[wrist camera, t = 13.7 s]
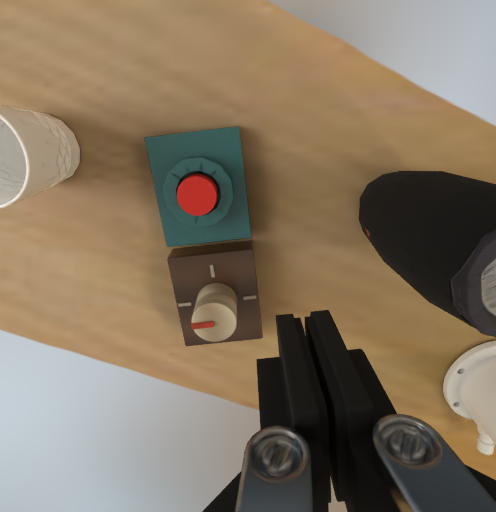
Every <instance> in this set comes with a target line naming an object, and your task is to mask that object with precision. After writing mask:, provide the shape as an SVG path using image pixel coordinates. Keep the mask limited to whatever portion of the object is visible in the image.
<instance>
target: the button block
mask: <svg viewBox="0 0 496 512" xmlns="http://www.w3.org/2000/svg"><path fill="white" fill-rule="evenodd" d="M144 139H145V144H146V149H147V154H148V158H149V163H150V168H151V173H152V178H153V182H154V187H155V192H156V197H157V202H158V206H159V211H160V216H161V221H162V226H163V230H164V235H165V240H166V245H167V247H171V246H180V245H189V244H198V243H207V242H216V241H225V240H234V239H243V238H251V227H250V218H249V209H248V200H247V191H246V182H245V174H244V165H243V156H242V147H241V138H240V129H239V126H237V127H228V128H220V129H211V130H203V131H195V132H186V133H178V134H170V135H161V136H153V137H145V138H144ZM193 174H203V175H206V176H208V177H209V178H211V179H212V180H213V181H214V183H215V185H216V187H217V190H218V197H217V200H216V203H215V206H214V207H213V209H212V210H211V211H210V212H208V213H207V214H204V215H200V216H195V215H191V214H189V213H187V212H185V211H184V210H183V209H182V208H181V206H180V205H179V203H178V200H177V190H178V187H179V185H180V184H181V183H182V182H183V181H184V180H185V179H186V178H187V177H188V176H190V175H193Z"/></svg>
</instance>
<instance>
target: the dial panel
mask: <svg viewBox="0 0 496 512" xmlns="http://www.w3.org/2000/svg"><path fill="white" fill-rule="evenodd" d="M167 260H168V264H169V269H170V274H171V279H172V283H173V288H174V293H175V298H176V302H177V307H178V312H179V317H180V321H181V326H182V331H183V336H184V340H185V345H186V346H192V345H202V344H212V343H221V342H231V341H241V340H251V339H260V338H263V335H262V325H261V316H260V307H259V298H258V289H257V280H256V271H255V262H254V254H253V245H252V241H243V242H234V243H225V244H216V245H207V246H198V247H189V248H179V249H173V250H172V252H171V253H170V255H169V257H168V259H167ZM212 283H222V284H225V285H227V286H229V287H230V288H231V289H232V290H233V291H234V292H235V294H236V296H237V325H236V329H235V331H234V332H233V334H232V335H231V336H230V337H228V338H227V339H225V340H222V341H218V342H211V341H207V340H204V339H202V338H201V337H199V336H198V335H197V334H196V333H195V331H194V330H192V326H191V324H192V316H193V312H194V308H195V304H196V300H197V297H198V294H199V292H200V291H201V289H202V288H204V287H205V286H206V285H209V284H212Z"/></svg>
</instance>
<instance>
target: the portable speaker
mask: <svg viewBox="0 0 496 512" xmlns="http://www.w3.org/2000/svg"><path fill="white" fill-rule="evenodd" d="M359 221H360V224H361V227H362V230H363V232H364V233H365V235H366V236H367V238H368V239H369V241H370V242H371V243H372V245H373V246H374V248H375V249H376V251H377V252H378V254H379V255H380V256H381V258H382V259H383V261H384V262H385V263H386V264H387V265H389V266H390V267H391V268H392V269H393V270H394V271H395V272H396V273H397V274H399V275H400V276H401V277H402V278H403V279H404V280H405V281H406V282H407V283H408V284H410V285H411V286H412V287H413V288H414V289H415V290H416V291H417V292H418V293H420V294H421V295H422V296H423V297H424V298H425V299H426V300H427V301H429V302H430V303H432V304H434V305H435V306H437V307H439V308H441V309H442V310H444V311H446V312H448V313H449V314H451V315H453V316H455V317H456V318H458V319H460V320H462V321H463V322H465V323H467V324H468V325H470V326H472V327H474V328H476V329H477V330H478V331H479V332H480V333H482V334H485V335H489V336H494V337H496V184H492V183H488V182H484V181H480V180H475V179H471V178H467V177H463V176H459V175H455V174H451V173H446V172H442V171H398V172H394V173H389V174H384V175H382V176H380V177H379V178H377V179H375V180H374V181H372V182H370V183H369V184H368V185H367V187H366V189H365V190H364V192H363V194H362V195H361V197H360V211H359Z"/></svg>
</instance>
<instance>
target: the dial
mask: <svg viewBox="0 0 496 512" xmlns="http://www.w3.org/2000/svg"><path fill="white" fill-rule="evenodd" d="M236 325H237V296H236V294H235V292H234V291H233V290H232V289H231V288H230V287H229V286H227V285H225V284H222V283H212V284H209V285H206V286H205V287H204V288H202V289H201V291H200V292H199V294H198V297H197V300H196V304H195V308H194V312H193V316H192V324H191V326H192V330H194V331H195V333H196V334H197V335H198V336H199V337H201V338H202V339H204V340H207V341H211V342H218V341H222V340H225V339H227V338H228V337H230V336H231V335H232V334H233V332H234V331H235V329H236Z"/></svg>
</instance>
